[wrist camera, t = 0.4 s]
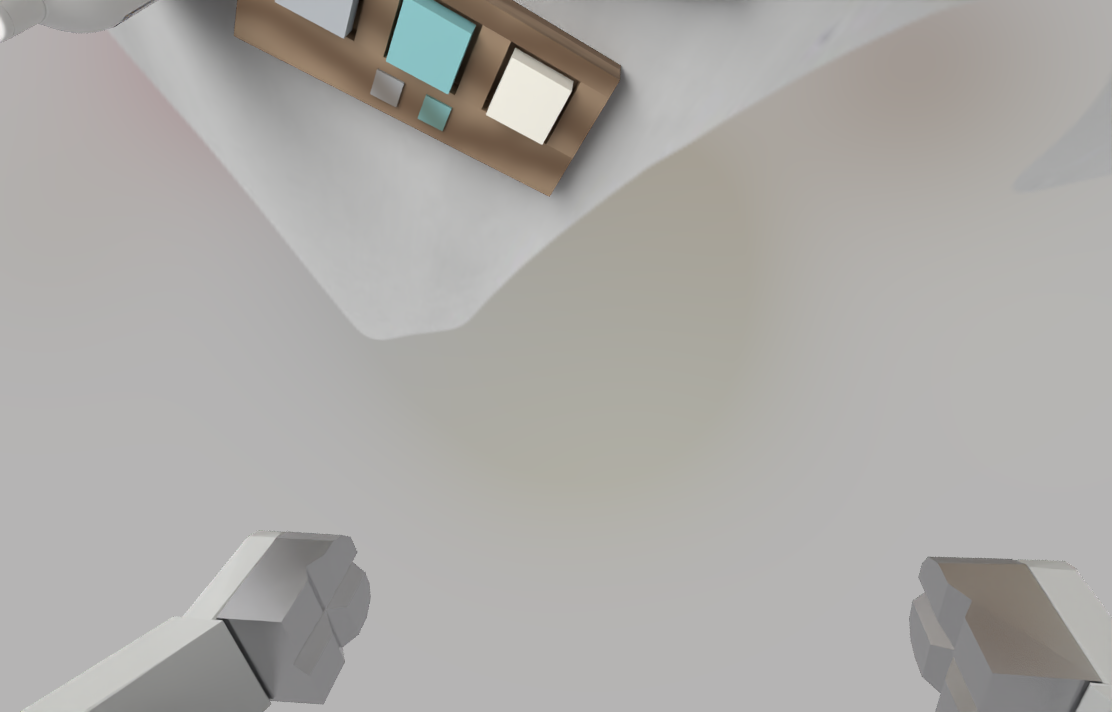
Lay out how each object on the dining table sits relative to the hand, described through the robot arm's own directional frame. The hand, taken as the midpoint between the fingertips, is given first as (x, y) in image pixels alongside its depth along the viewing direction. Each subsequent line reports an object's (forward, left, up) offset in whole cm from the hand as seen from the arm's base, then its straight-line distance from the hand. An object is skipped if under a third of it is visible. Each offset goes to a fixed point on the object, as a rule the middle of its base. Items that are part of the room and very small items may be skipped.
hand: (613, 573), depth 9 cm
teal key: (+16, -9, -48) cm, 51 cm away
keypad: (+18, -9, -50) cm, 54 cm away
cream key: (+16, 0, -48) cm, 51 cm away
